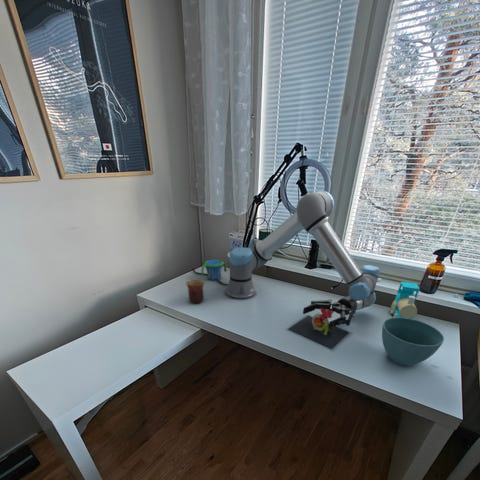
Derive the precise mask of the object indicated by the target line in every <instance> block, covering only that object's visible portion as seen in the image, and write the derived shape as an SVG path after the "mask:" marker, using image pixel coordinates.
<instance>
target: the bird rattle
mask: <svg viewBox="0 0 480 480" xmlns="http://www.w3.org/2000/svg"><path fill="white" fill-rule="evenodd" d="M320 312H321V313H317V314H314V316H312V317H313V318H312V325H313V327H314V330H319V331H323V330H324V331H325V332H324V335H327V332H328V329H330V330H333V329H334V327H332V328H328V327H329V326H328V325H329V322H330V321H329V319H332V317H333V316H332V315H333V313H334V311H329V310H327V309H325V310H324V309H323V308H321V309H320ZM328 318H329V319H328ZM323 324H324V325H323ZM322 325H323V326H322ZM321 326H322V327H321Z"/></svg>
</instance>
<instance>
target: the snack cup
mask: <svg viewBox="0 0 480 480" xmlns="http://www.w3.org/2000/svg"><path fill="white" fill-rule="evenodd" d="M204 269H206V274H208V275H207V278H208V279H209V280H211V281H217V280H216V279H218V280H220V279H221V278H222V270H223V271H224V272H227V265H226V263H225V262H223V261H222V260H221V259H209V260H206V261H204V264H203V265H202V266H201V272H200V273H202V274H201V275H202V276H205V275H204V274H205V272H204Z"/></svg>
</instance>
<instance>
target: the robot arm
mask: <svg viewBox="0 0 480 480" xmlns="http://www.w3.org/2000/svg"><path fill="white" fill-rule="evenodd" d="M334 208H335V200H334V198H333V195H332V194H331V193H329V192H328V191H324V190H317V191H313V192H308V193H306V194H304V195H303V196H301V198H300V199H299V200H298V202H297V204H296V208H295V212H294V213H292V215H290V216H289V217H288V218H287V219H286V220H285V221H283V223H281V224H280V225H279V226H277V228H275V229H274V230H273V231H272V232H271V233H269V234H268V235H267V236H266V237H265V238H264V239H262V240H260V239H259V240H257V241H255V242H254V244H252V245H251V246H250V247H237V248H234V249H232V250H231V251H230V253H229V281H228V283H224V282H222V281H221V280H220V279H216V280H215V281H217V282H218V283H220V284H221V285H223V286H227V287H226V295H227V296H228V297H230V298H232V299H238V300H240V299H241V300H243V299H245V300H246V299H249V298H251V297H253V296H254V295H255V287H254V283H253V271H255V270H256V269H259V268H260V267H263V266H265V265H266V264H267V263H268V262H269V261H270V260H271V259H272V257H273V254H274V253H275V252H276V251H278V250H279V249H281V248H282V247H283V246H284V245H286V244H287V243H288V242H290V241H291V240H293V238H295V237H296V236H297V235H299V234H300V233H301V232H303V231H304V230H305V232H306V233H307V234H309V235H312V238H313V239H314V240H315V241H316V243H317V245H318V246H319V247H320V249H321V250H322V251H323V253H324V254H325V256H326V257H327V259H328V260H329V261H330V263H331V265H332V266H333V268H334V269H335V270H336V272H337V273H338V275H339V276H340V277H341V279H342V281H343V282H344V283H345V285H346V286H347V288H348V295H347V296H345V297H342V298H340V299H338V300H337V302H336V301H335V302H333V300H332V299H324V300H322V299H321V300H311V301H310V304H309V305H307V306H305V307H303V311H302V314H303V315H305V314H308V313H311V312H313V311H316V310H321V308H323V309H324V310H325V309H327V310H329V311H333V313H336V314H339V317H337V318H335V319H333V320H330V321H329V327H328V328H332V327H335V326H336V327H340V326H342V325H345V326H346V327H349V326H350V325H351V323H352V320H353V318H355V316H356V314H357V312H358V311H361V310H362V309H365V308H368V307H371V306H372V305H374V304H375V303H376V301H377V296H376V292H375V289H376V286H377V283H378V281H379V280H378V279H379V277H380V272H381V270H380V268H379V267H378V266H375V265H363V266H362V267H361V269H360V267H359V265H358V264H357V262H356V261H355V260H354V258H353V257H352V255H351V254H350V252H349V251H348V249H347V248H346V246H345V245H344V244H343V242H342V240H341V239H340V237H339V236H338V235H337V233H336V231H334V229H333V227H332V226H331V224H330V223H329V216H330V215H332V213H333V211H334ZM191 271H193V272H194V273H195V274H197V275H202V272H197V271H196V270H195V268H191ZM203 276H208V274H207V273H204V275H203ZM347 316H348V317H347Z"/></svg>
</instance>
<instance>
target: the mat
mask: <svg viewBox="0 0 480 480" xmlns="http://www.w3.org/2000/svg"><path fill="white" fill-rule="evenodd" d="M313 317H314V316H311V315H307V316H306V317H303V318H302V319H301V320H299V321H298V322H296V323H295V324H293V325H292V326H290V327H288V330H289V331H291V332H294V333H295V334H298V335H300V336H302V337H304V338H307V339H309V340H310V341H313V342H315V343H318V344H320V345H322V346H323V347H326V348H329V349H330V350H332V349H333V348H334V347H336V346H337V345H338V344H339V343H340V342H341V341H342V340H343V339H344V338H346V336H348V335H350V331H348V330H347V329H343V328H340V327H339V326H335V327H334V329H333V330H330V329H328V332H327V335H324V332H325V331H324V330H323V331H319V330H314V327H313V325H312V318H313ZM323 325H324V324H323ZM323 325H322V326H323ZM322 326H321V327H322ZM328 326H329V325H328Z"/></svg>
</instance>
